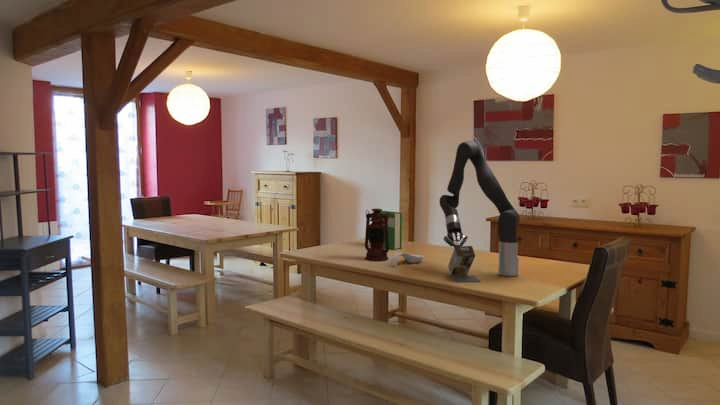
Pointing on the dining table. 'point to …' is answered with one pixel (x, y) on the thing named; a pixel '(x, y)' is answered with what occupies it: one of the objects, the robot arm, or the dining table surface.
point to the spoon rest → (406, 258)
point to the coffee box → (461, 260)
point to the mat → (465, 278)
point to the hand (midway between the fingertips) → (458, 252)
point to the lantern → (377, 236)
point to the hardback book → (394, 230)
